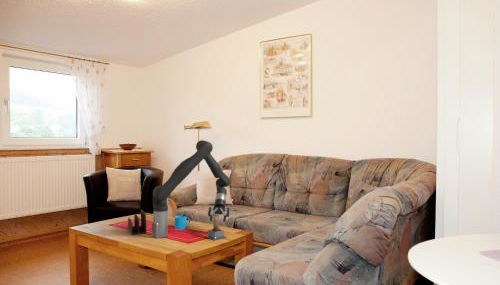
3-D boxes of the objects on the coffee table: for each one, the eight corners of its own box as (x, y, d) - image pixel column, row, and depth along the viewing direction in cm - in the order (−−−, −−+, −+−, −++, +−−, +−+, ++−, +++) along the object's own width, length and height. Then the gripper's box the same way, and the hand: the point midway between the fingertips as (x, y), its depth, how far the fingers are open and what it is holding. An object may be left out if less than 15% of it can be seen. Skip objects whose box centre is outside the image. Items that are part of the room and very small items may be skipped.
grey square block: (214, 240, 240) (214, 232, 240) (205, 237, 247) (205, 229, 247) (226, 237, 246) (226, 230, 246) (217, 234, 254) (217, 227, 254)
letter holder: (141, 227, 273) (141, 208, 272) (146, 234, 255) (146, 213, 254) (127, 228, 268) (127, 209, 268) (131, 235, 250) (131, 214, 250)
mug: (177, 230, 266) (177, 218, 266) (172, 227, 272) (172, 216, 272) (192, 227, 273) (192, 216, 273) (187, 225, 280) (187, 214, 280)
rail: (215, 237, 244) (215, 215, 244) (212, 236, 247) (212, 215, 247) (219, 236, 247) (220, 215, 247) (216, 235, 249) (216, 214, 249)
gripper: (209, 197, 260) (206, 218, 248) (230, 198, 258) (227, 218, 247) (211, 204, 265) (207, 224, 254) (231, 204, 264) (228, 224, 253)
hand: (217, 221), depth 251 cm, fingers open, 8 cm apart
